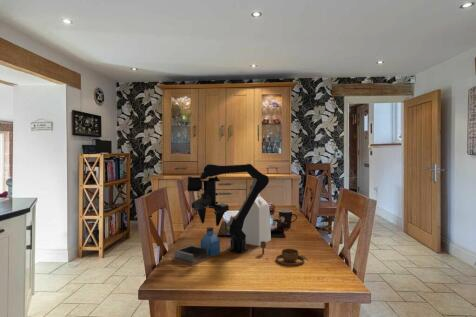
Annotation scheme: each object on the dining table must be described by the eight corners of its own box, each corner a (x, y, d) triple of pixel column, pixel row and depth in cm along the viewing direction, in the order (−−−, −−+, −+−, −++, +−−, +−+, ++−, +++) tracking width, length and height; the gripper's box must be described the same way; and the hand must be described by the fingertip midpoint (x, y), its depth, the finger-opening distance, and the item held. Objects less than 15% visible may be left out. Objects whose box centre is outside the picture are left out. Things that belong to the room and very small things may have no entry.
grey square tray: (211, 257, 136) (211, 248, 136) (191, 265, 126) (191, 256, 126) (191, 252, 143) (191, 244, 143) (171, 260, 133) (171, 250, 133)
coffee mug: (275, 226, 195) (275, 210, 195) (287, 224, 199) (287, 209, 199) (286, 230, 185) (286, 213, 184) (298, 228, 188) (298, 212, 188)
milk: (252, 237, 170) (252, 190, 169) (270, 240, 163) (270, 191, 163) (240, 242, 160) (239, 192, 159) (259, 245, 153) (259, 193, 153)
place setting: (276, 270, 123) (276, 255, 122) (258, 254, 142) (258, 241, 141) (315, 264, 128) (315, 250, 128) (292, 250, 147) (292, 238, 147)
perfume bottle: (210, 257, 137) (210, 230, 137) (200, 254, 141) (200, 228, 141) (219, 253, 142) (219, 227, 142) (209, 250, 146) (209, 225, 146)
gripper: (182, 191, 142) (183, 225, 143) (212, 194, 131) (213, 231, 131) (200, 189, 151) (200, 220, 151) (229, 191, 140) (229, 226, 140)
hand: (209, 224), depth 143 cm, fingers open, 9 cm apart
